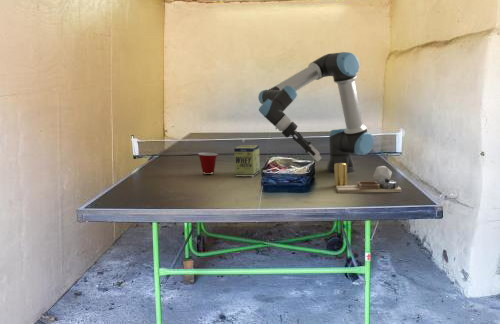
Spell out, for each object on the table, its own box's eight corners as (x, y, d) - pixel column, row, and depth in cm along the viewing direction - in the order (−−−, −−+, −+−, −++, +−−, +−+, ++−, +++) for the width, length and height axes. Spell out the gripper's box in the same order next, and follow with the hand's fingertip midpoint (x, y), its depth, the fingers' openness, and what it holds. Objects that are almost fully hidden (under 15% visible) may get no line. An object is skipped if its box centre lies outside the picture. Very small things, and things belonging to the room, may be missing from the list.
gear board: (336, 188, 252) (336, 181, 251) (397, 187, 250) (397, 180, 249) (338, 192, 242) (338, 186, 242) (401, 191, 240) (401, 184, 240)
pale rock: (383, 181, 269) (371, 166, 267) (397, 174, 263) (385, 159, 262) (379, 189, 262) (367, 174, 261) (394, 182, 257) (382, 167, 255)
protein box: (234, 177, 289) (233, 148, 286) (242, 171, 304) (241, 144, 301) (253, 177, 286) (252, 148, 284) (260, 172, 301) (259, 144, 299)
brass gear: (334, 185, 259) (334, 162, 258) (346, 185, 259) (346, 162, 257) (335, 187, 254) (335, 164, 252) (347, 187, 253) (347, 164, 251)
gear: (375, 185, 250) (375, 176, 250) (395, 184, 250) (395, 176, 249) (378, 189, 241) (378, 180, 240) (399, 189, 240) (399, 180, 240)
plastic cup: (221, 174, 297) (220, 153, 295) (202, 176, 293) (201, 155, 291) (215, 171, 307) (214, 151, 305) (196, 173, 303) (195, 152, 301)
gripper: (281, 129, 266) (312, 159, 267) (280, 135, 242) (314, 167, 243) (291, 118, 265) (322, 148, 266) (292, 123, 240) (326, 155, 242)
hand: (319, 157), depth 255 cm, fingers open, 13 cm apart
